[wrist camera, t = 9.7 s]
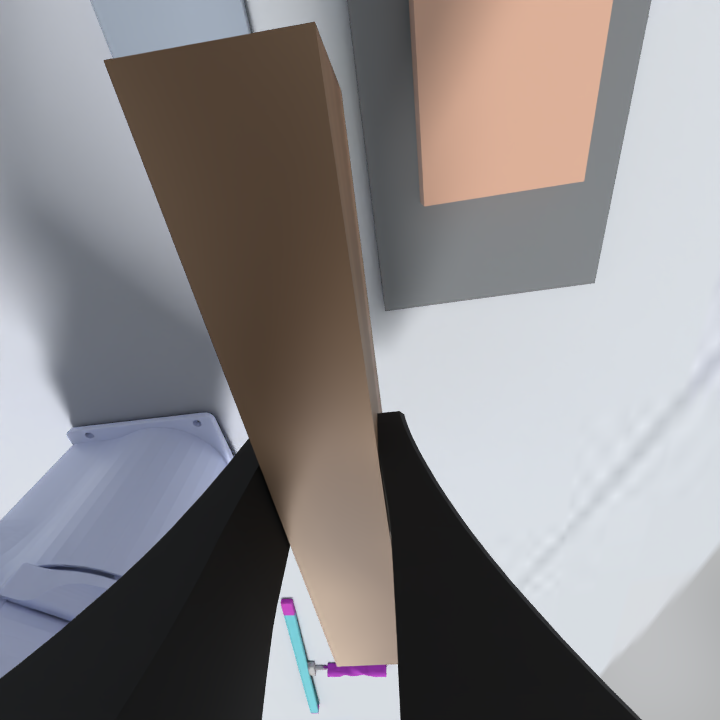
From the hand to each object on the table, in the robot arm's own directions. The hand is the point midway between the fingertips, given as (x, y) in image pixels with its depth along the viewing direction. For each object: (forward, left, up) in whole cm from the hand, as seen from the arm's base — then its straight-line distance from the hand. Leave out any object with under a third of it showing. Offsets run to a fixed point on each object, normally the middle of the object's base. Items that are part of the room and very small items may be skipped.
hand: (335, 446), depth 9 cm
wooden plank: (0, 0, -3) cm, 3 cm away
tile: (+7, +4, -9) cm, 12 cm away
